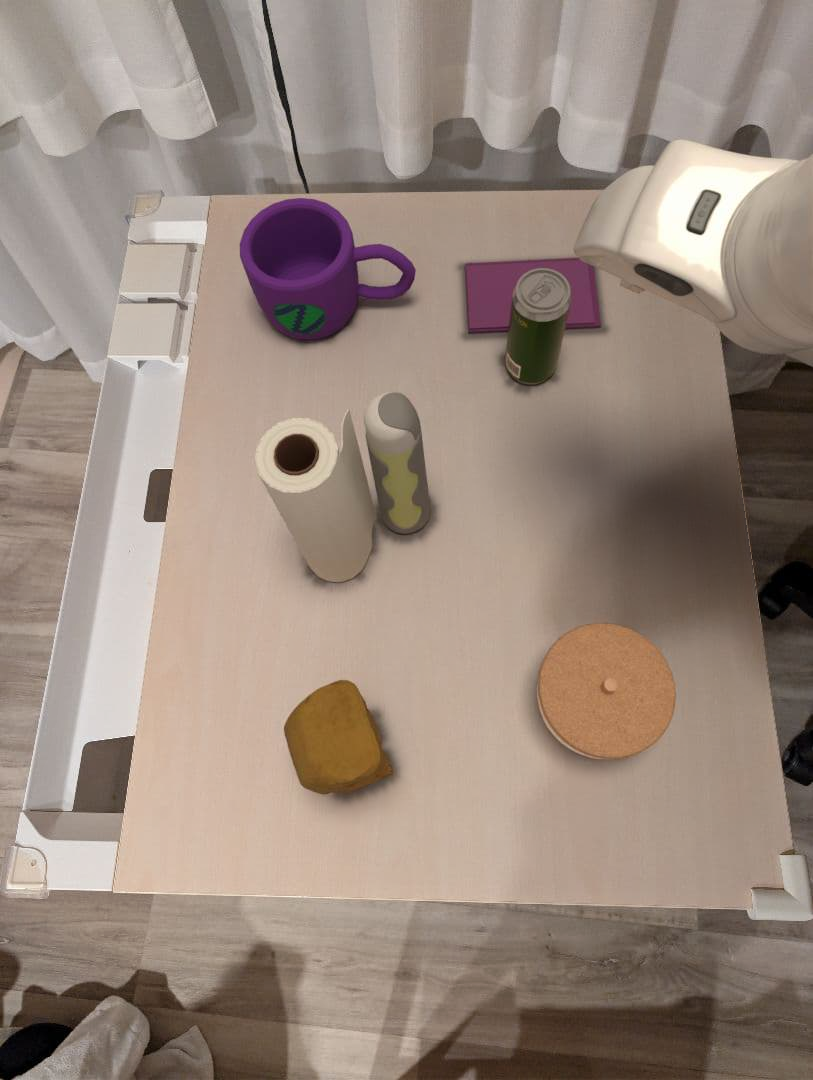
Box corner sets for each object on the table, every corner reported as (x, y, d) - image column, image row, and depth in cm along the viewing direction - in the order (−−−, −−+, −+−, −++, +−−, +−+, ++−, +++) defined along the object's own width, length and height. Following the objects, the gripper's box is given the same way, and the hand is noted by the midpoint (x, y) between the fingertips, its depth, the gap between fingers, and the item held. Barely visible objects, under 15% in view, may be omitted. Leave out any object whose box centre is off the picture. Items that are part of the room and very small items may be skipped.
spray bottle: (379, 493, 77) (354, 384, 58) (427, 487, 76) (418, 376, 58) (383, 538, 75) (359, 441, 56) (433, 532, 75) (425, 433, 56)
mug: (255, 348, 83) (230, 287, 74) (267, 263, 87) (244, 195, 78) (415, 349, 82) (411, 287, 73) (420, 263, 86) (416, 194, 77)
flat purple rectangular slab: (592, 259, 85) (593, 254, 84) (600, 327, 82) (601, 323, 81) (465, 265, 86) (465, 261, 85) (468, 333, 83) (468, 329, 82)
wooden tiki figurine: (401, 780, 67) (386, 768, 53) (329, 809, 66) (296, 803, 52) (374, 704, 69) (353, 673, 55) (305, 731, 69) (266, 706, 55)
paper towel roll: (310, 588, 73) (257, 498, 53) (304, 530, 76) (250, 422, 56) (385, 576, 73) (359, 481, 53) (376, 518, 76) (348, 406, 56)
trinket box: (618, 790, 65) (643, 784, 57) (507, 723, 68) (515, 707, 59) (673, 683, 68) (705, 661, 60) (565, 622, 71) (581, 592, 62)
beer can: (532, 396, 79) (545, 325, 68) (493, 365, 81) (500, 291, 70) (567, 364, 80) (585, 288, 69) (528, 334, 82) (540, 256, 71)
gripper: (998, 290, 40) (846, 325, 54) (647, 122, 39) (583, 202, 53) (939, 402, 41) (804, 408, 55) (593, 242, 40) (544, 290, 53)
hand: (693, 306), depth 54 cm, fingers open, 8 cm apart
